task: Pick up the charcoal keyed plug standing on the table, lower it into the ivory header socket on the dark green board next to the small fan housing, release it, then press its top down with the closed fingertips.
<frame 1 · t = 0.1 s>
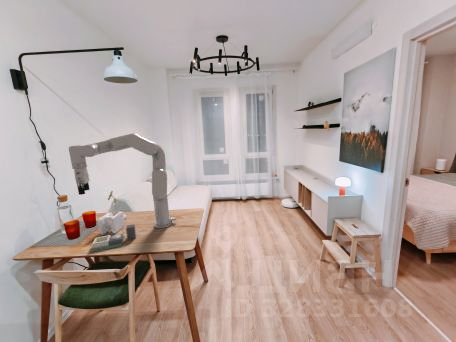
hand: (84, 192, 136), 31 cm above the table, fingers open, 9 cm apart
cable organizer: (112, 231, 151), on the table
plug: (132, 237, 139), on the table
flower in vase: (118, 220, 168), on the table
header board: (103, 245, 131), on the table
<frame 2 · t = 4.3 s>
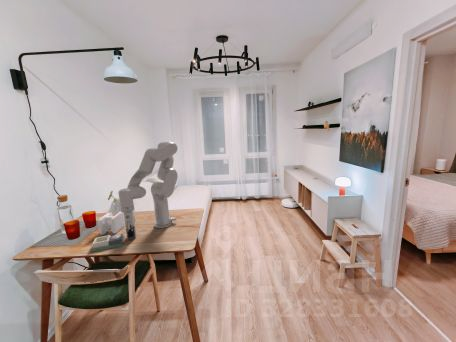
hand: (131, 234, 139), 2 cm above the table, fingers closed on plug, 4 cm apart
plug: (132, 237, 139), on the table, touching gripper
everything else where it was.
when the fingers open (5 cm above the table, at t = 8.7 s): plug drops 2 cm, resting on header board.
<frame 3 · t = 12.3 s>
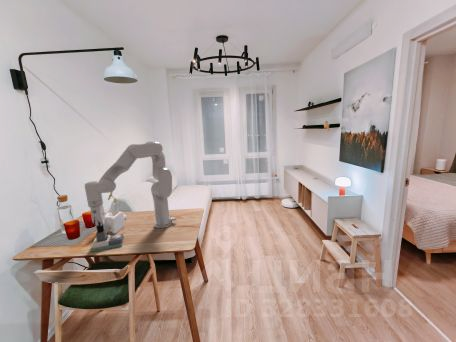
hand: (100, 231, 129), 9 cm above the table, fingers closed
plug: (103, 243, 131), point 1 cm above the table, touching gripper, header board
everything else where it was.
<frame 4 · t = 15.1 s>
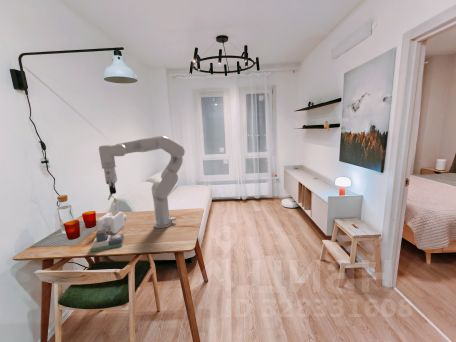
hand: (113, 193, 137), 29 cm above the table, fingers closed
plug: (103, 243, 131), point 1 cm above the table, touching header board
everything else where it was.
at the end: plug 0.2 cm off-centre on the header board, point 1.2 cm above the header board's base; plug tilted 0°; the gripper is holding nothing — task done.
